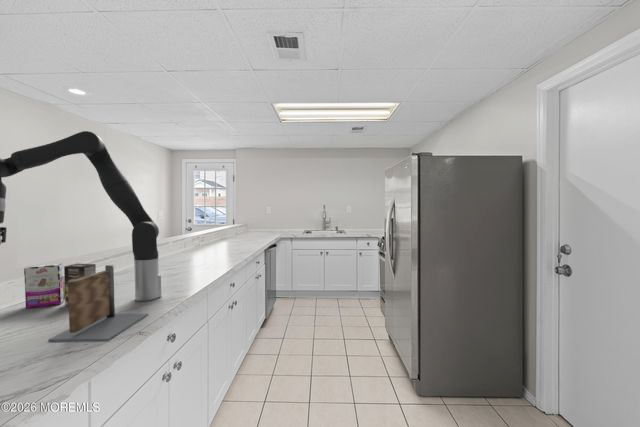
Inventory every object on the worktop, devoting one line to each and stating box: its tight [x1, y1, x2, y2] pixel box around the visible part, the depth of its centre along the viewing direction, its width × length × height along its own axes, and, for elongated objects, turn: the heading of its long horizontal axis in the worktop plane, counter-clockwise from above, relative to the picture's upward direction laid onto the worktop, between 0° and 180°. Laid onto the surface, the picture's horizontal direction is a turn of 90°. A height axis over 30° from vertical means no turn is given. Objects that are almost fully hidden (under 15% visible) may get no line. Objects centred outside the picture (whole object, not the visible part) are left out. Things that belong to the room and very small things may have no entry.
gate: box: [67, 270, 110, 333], centre depth 104 cm, size 16×2×15 cm, turn 0°
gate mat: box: [47, 313, 149, 342], centre depth 106 cm, size 22×18×1 cm
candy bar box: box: [23, 263, 65, 310], centre depth 130 cm, size 11×5×16 cm, turn 117°
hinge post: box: [104, 264, 116, 318], centre depth 114 cm, size 2×2×19 cm
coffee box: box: [63, 263, 97, 306], centre depth 131 cm, size 9×6×16 cm
